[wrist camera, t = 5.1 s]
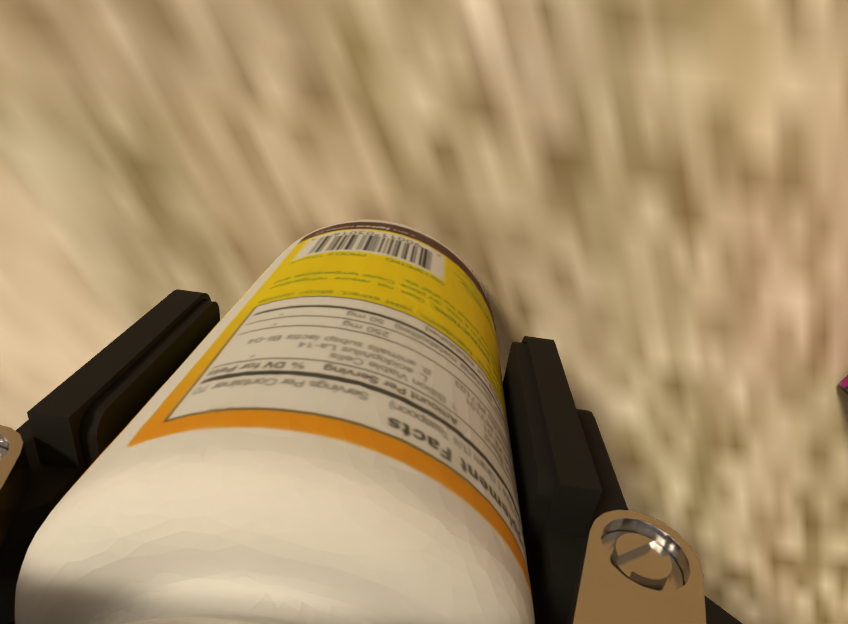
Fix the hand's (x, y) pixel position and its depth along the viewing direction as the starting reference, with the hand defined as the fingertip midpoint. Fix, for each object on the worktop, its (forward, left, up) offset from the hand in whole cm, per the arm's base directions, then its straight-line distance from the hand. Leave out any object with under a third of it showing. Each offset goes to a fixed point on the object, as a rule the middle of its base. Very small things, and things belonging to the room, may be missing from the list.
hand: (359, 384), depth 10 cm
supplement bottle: (0, 0, -3) cm, 3 cm away
